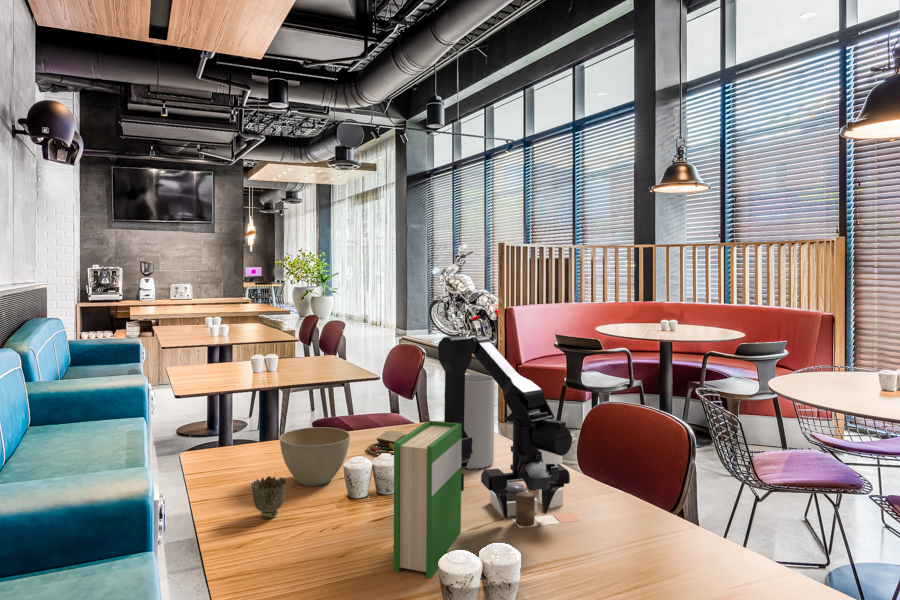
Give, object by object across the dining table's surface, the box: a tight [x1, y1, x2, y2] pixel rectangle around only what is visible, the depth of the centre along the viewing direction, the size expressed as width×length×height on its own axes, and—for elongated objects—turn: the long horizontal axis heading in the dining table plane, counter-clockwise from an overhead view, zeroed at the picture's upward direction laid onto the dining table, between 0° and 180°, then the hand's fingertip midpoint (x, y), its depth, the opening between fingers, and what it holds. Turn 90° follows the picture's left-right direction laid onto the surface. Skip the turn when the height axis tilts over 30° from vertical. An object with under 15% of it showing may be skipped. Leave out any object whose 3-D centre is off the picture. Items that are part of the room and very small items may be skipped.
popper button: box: [506, 482, 528, 502], centre depth 134 cm, size 6×6×5 cm
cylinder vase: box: [463, 374, 495, 470], centre depth 169 cm, size 12×12×25 cm
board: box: [489, 490, 581, 529], centre depth 131 cm, size 18×16×4 cm
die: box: [538, 487, 564, 509], centre depth 136 cm, size 4×4×4 cm
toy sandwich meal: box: [366, 430, 406, 455], centre depth 181 cm, size 12×14×5 cm
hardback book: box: [393, 420, 462, 579], centre depth 113 cm, size 18×7×24 cm, turn 161°
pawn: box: [515, 491, 536, 527], centre depth 126 cm, size 4×4×6 cm
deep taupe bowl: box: [279, 426, 351, 487], centre depth 153 cm, size 18×18×12 cm
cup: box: [251, 476, 287, 520], centre depth 130 cm, size 8×7×8 cm
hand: (525, 515), depth 126 cm, fingers open, 9 cm apart
